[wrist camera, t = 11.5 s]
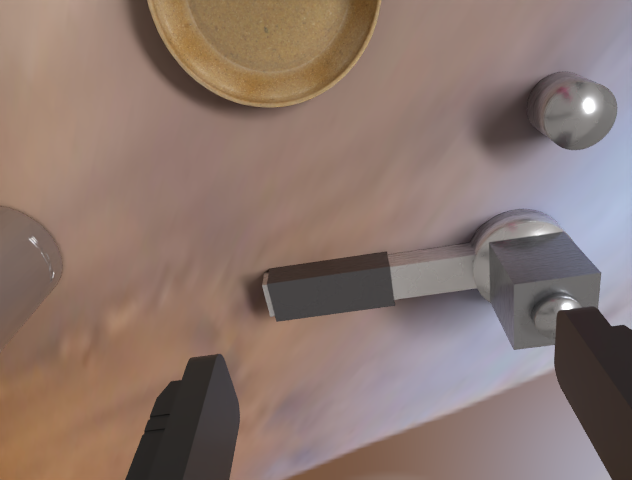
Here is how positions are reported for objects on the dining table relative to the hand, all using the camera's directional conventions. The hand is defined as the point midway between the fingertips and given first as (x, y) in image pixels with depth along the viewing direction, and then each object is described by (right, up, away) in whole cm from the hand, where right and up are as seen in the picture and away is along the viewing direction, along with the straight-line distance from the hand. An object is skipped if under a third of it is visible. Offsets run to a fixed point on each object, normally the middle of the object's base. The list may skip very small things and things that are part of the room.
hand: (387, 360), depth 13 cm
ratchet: (+7, +1, +31) cm, 32 cm away
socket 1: (+16, +13, +25) cm, 32 cm away
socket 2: (+15, +1, +28) cm, 32 cm away
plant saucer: (-5, +20, +22) cm, 30 cm away
